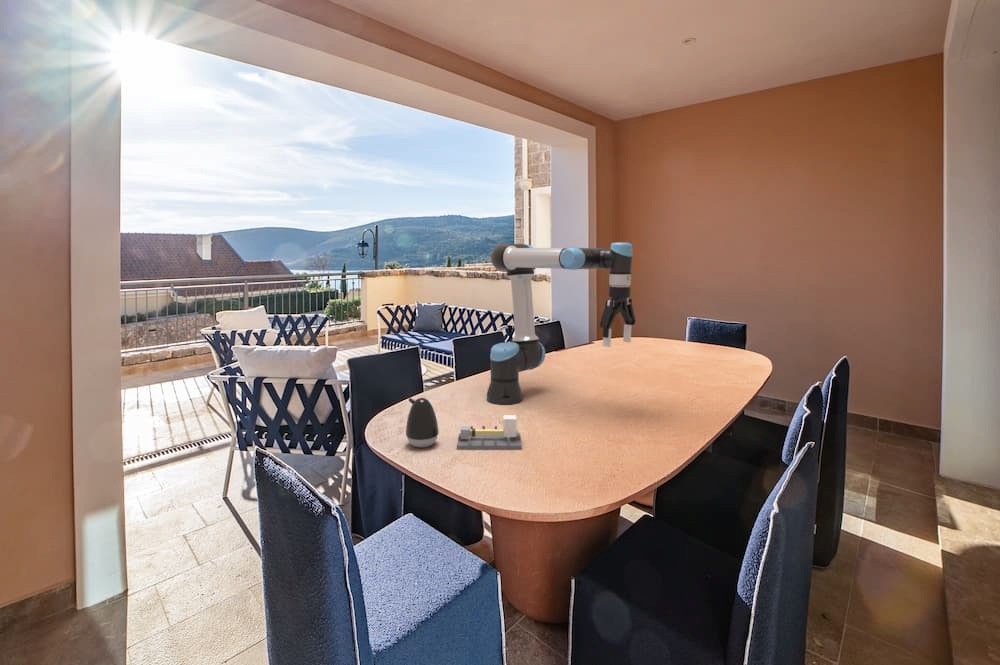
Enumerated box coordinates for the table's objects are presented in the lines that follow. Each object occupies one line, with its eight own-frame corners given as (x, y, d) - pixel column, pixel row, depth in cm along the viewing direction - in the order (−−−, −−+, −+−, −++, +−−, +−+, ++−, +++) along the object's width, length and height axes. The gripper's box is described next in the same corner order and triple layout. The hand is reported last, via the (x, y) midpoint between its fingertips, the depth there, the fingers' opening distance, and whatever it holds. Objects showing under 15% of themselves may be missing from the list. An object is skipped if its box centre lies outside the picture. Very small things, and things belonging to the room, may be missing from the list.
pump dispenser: (421, 436, 161) (420, 391, 159) (445, 443, 155) (444, 396, 153) (398, 446, 153) (397, 399, 150) (423, 453, 147) (422, 404, 145)
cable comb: (456, 449, 150) (456, 434, 149) (459, 436, 161) (459, 422, 160) (521, 449, 150) (521, 434, 149) (520, 436, 161) (520, 422, 160)
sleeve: (503, 436, 153) (503, 419, 152) (503, 432, 157) (503, 415, 156) (516, 436, 153) (516, 419, 152) (515, 432, 157) (515, 415, 156)
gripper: (609, 288, 164) (606, 350, 167) (646, 285, 181) (643, 341, 184) (590, 286, 169) (588, 346, 172) (628, 284, 186) (626, 339, 190)
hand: (617, 344), depth 179 cm, fingers open, 13 cm apart
